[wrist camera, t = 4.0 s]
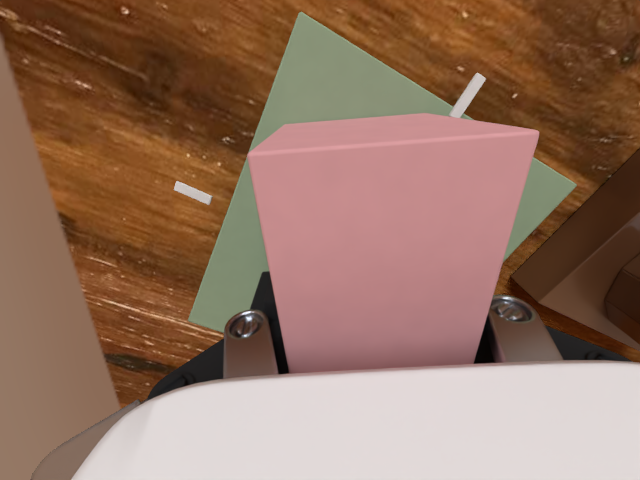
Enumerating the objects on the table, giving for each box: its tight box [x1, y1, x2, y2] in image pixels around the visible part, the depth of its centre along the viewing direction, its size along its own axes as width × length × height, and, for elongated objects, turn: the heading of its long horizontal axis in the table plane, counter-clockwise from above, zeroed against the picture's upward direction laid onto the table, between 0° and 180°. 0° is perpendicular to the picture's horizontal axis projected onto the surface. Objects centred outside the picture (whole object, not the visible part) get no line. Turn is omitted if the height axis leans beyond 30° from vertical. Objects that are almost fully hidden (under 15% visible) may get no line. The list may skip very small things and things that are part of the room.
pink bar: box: [247, 113, 539, 374], centre depth 10 cm, size 12×5×6 cm, turn 4°
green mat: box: [174, 12, 577, 333], centre depth 13 cm, size 16×16×2 cm
